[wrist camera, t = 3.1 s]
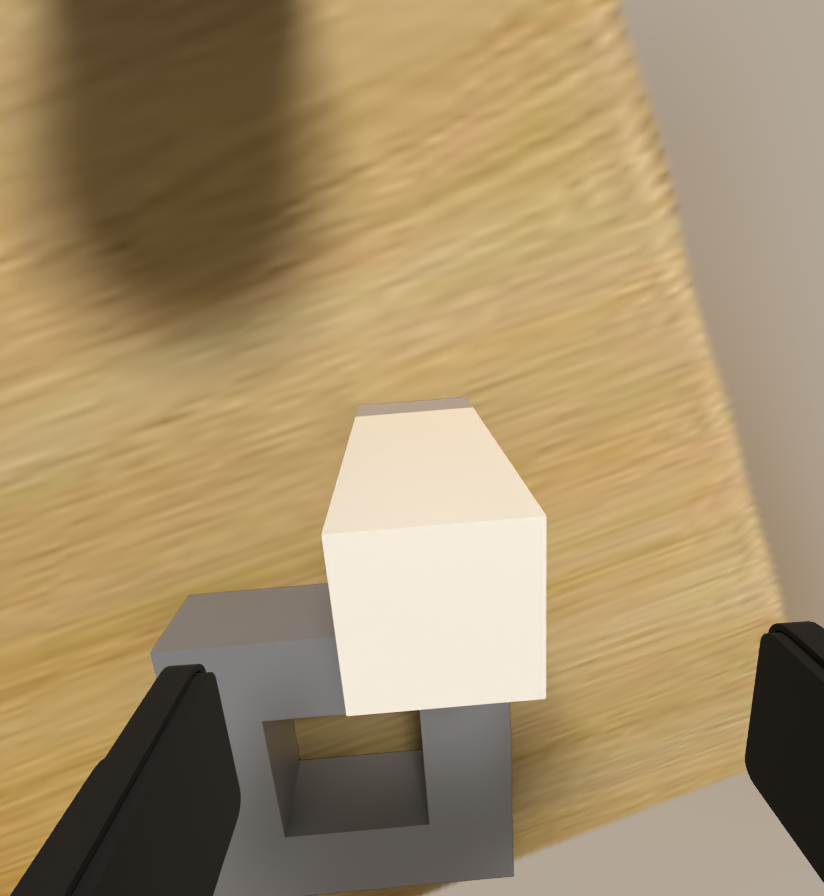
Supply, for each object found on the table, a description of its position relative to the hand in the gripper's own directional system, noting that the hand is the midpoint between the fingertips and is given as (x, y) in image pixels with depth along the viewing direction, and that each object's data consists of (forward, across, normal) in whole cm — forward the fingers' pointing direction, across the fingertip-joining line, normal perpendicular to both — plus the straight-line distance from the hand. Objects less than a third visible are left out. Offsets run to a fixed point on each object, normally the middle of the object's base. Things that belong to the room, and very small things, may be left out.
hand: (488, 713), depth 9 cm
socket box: (+14, +5, +13) cm, 20 cm away
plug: (+14, +1, 0) cm, 14 cm away
